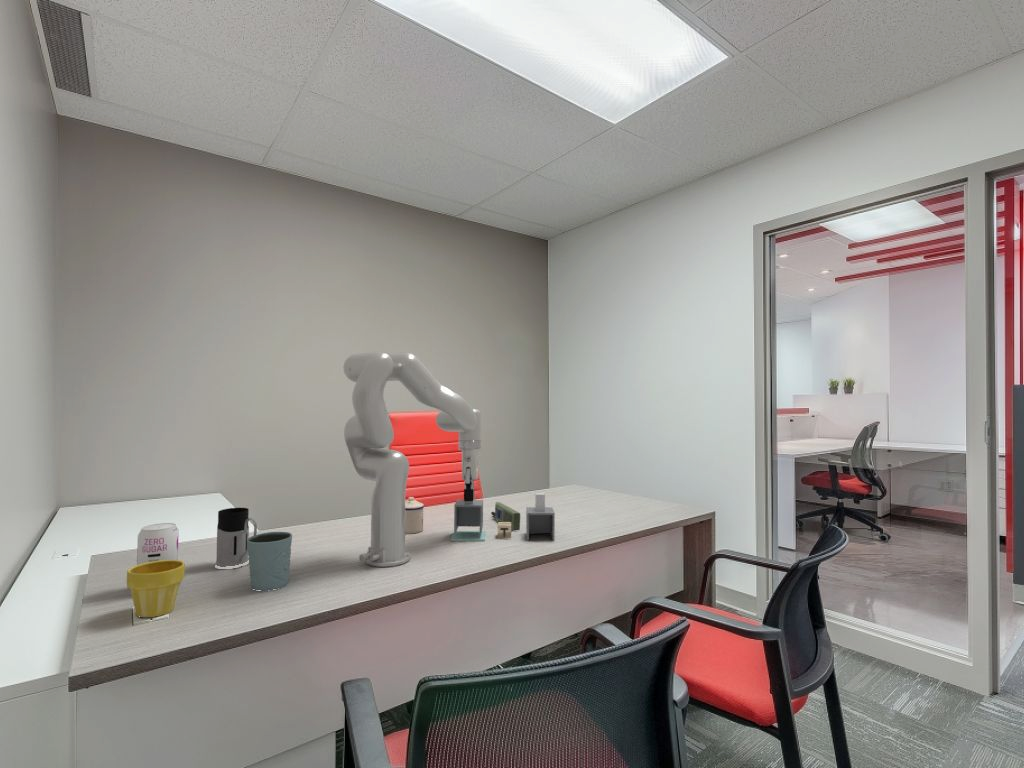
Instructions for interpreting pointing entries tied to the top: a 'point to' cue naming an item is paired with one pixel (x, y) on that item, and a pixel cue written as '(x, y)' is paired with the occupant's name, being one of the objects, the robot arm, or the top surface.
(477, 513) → the cover
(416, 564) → the top surface
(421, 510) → the teacup with lid
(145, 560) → the supplement can
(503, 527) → the letter cube
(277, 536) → the teal cup
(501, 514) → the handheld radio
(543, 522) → the cover
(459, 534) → the mat
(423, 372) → the robot arm
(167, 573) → the plant pot
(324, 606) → the top surface
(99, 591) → the top surface
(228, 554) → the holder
